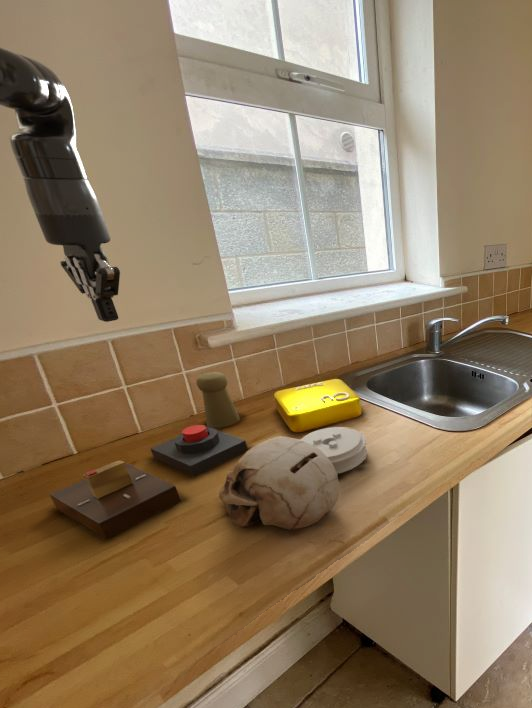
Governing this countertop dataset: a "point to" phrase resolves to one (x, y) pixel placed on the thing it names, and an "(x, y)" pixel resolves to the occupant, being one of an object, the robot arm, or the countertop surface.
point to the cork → (217, 400)
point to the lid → (339, 446)
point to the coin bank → (280, 485)
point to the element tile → (317, 405)
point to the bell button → (194, 433)
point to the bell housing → (199, 451)
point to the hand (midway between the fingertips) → (109, 320)
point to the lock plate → (116, 503)
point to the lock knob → (108, 479)
